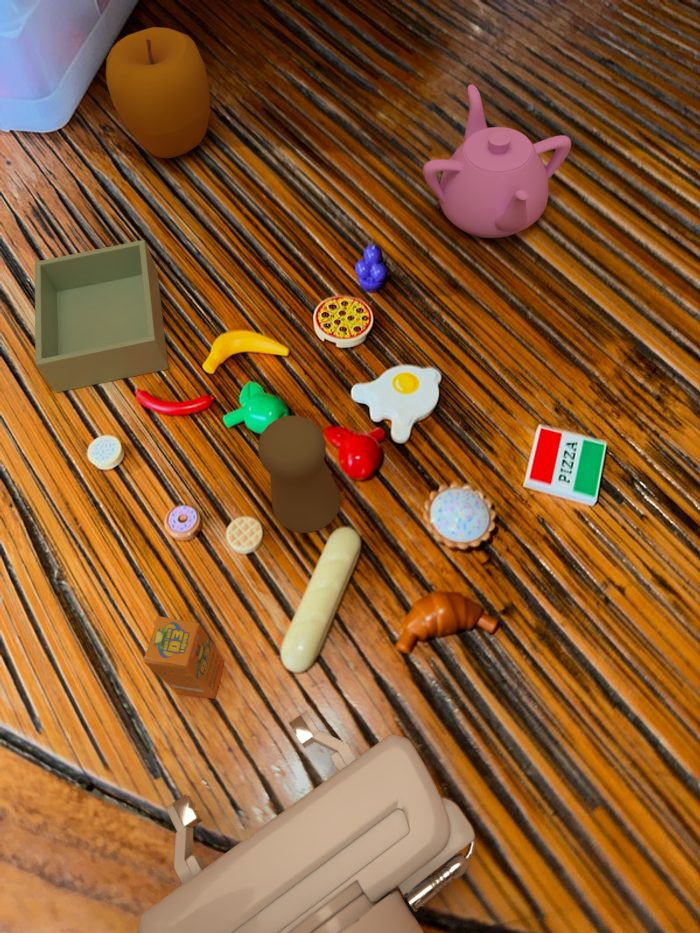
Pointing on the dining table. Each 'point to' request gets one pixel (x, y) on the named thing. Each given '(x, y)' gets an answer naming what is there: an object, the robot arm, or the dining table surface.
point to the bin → (98, 317)
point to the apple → (160, 90)
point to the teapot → (494, 177)
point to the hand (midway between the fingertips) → (239, 758)
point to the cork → (298, 474)
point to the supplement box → (184, 657)
